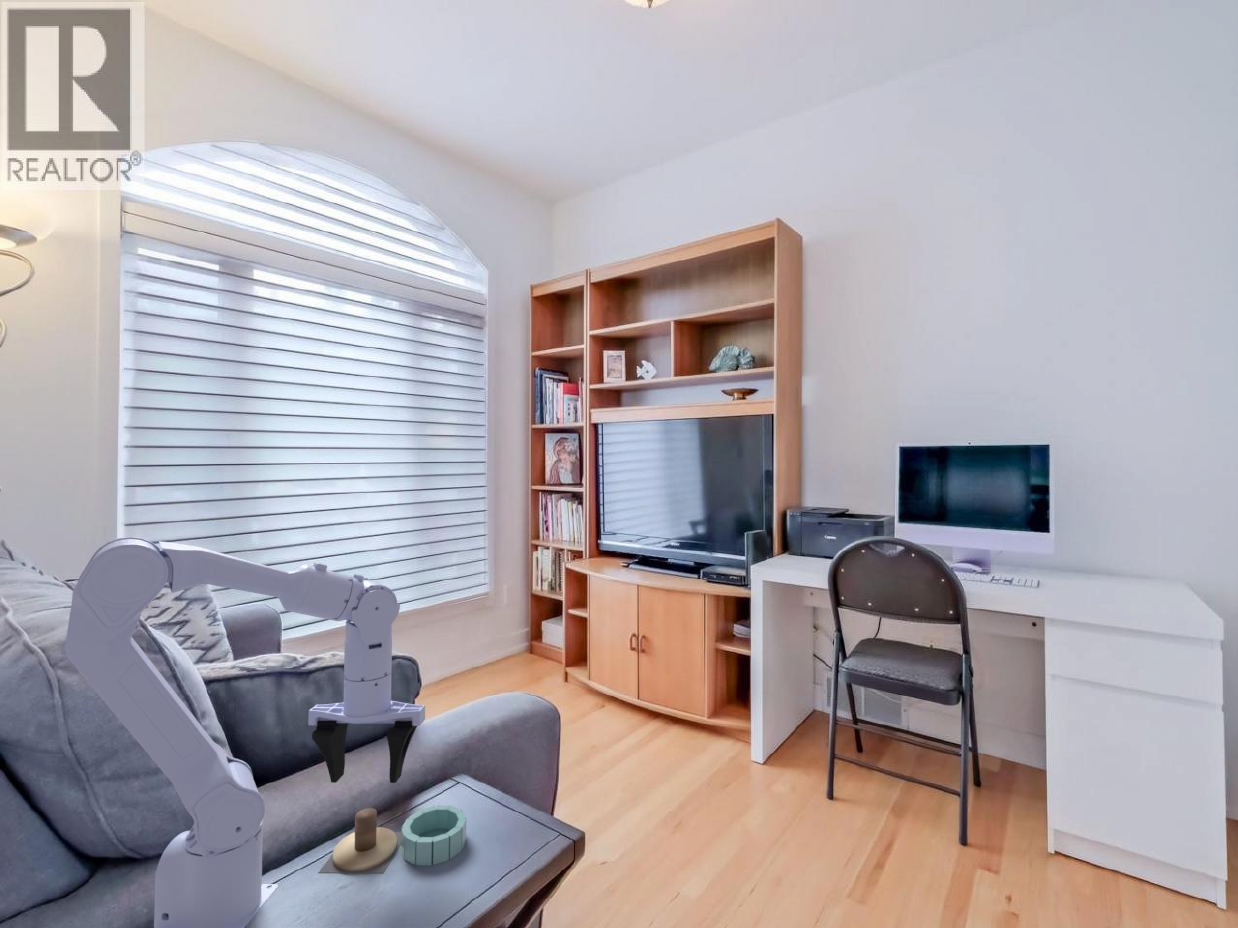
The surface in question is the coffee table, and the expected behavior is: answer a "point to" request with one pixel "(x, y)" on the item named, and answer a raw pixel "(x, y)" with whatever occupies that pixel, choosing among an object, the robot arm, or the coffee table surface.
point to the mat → (380, 868)
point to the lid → (364, 844)
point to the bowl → (433, 835)
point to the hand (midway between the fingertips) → (366, 778)
